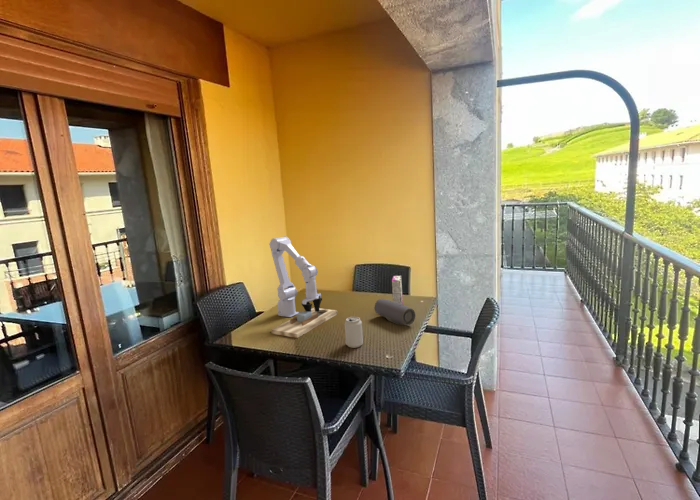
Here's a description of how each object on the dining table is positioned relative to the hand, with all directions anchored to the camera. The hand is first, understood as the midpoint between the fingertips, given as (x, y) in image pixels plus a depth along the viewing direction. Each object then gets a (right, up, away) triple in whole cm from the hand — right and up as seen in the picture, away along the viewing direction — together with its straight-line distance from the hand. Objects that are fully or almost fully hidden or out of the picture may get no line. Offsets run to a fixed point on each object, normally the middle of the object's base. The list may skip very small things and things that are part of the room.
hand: (313, 313), depth 194 cm
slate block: (-4, -2, -7) cm, 8 cm away
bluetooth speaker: (+42, -2, -10) cm, 44 cm away
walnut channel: (-4, -2, -6) cm, 8 cm away
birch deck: (-3, -4, -5) cm, 7 cm away
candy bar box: (+47, +2, +14) cm, 49 cm away
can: (+22, -8, -36) cm, 43 cm away
